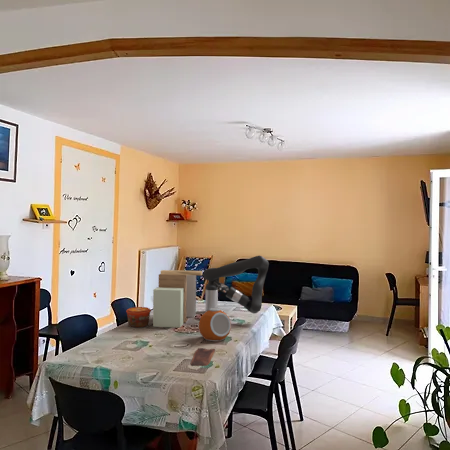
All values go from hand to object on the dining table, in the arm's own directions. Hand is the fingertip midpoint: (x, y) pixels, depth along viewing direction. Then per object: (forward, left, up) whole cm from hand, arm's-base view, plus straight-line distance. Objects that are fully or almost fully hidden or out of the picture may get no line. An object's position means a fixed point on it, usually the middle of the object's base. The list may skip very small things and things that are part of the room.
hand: (213, 282), depth 289 cm
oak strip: (0, -22, +5) cm, 23 cm away
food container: (+15, -48, -28) cm, 57 cm away
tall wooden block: (0, -28, -27) cm, 39 cm away
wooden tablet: (+73, +4, -28) cm, 78 cm away
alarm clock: (+37, +6, -28) cm, 47 cm away
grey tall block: (-16, -22, -28) cm, 39 cm away
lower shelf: (+12, -28, -27) cm, 41 cm away
